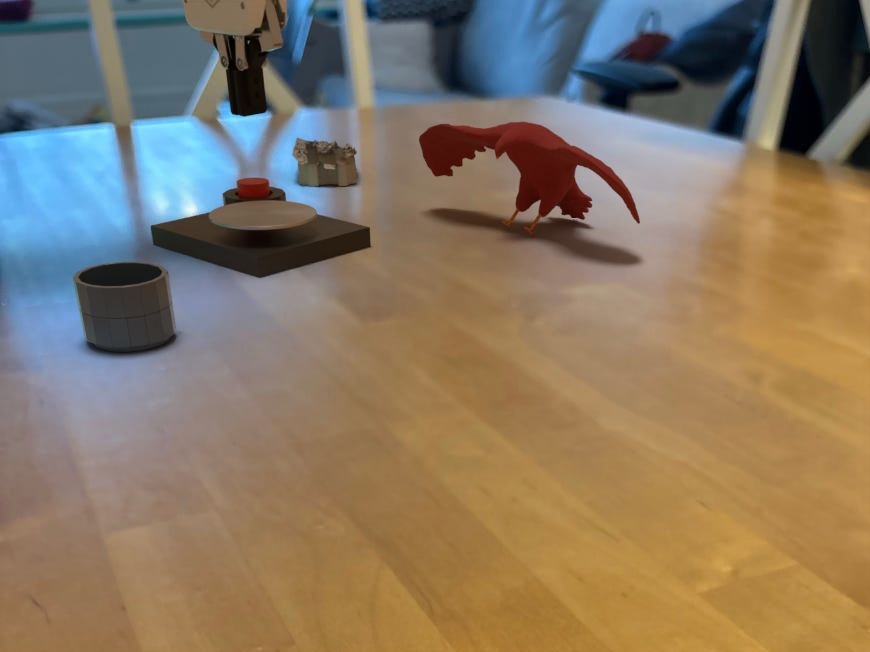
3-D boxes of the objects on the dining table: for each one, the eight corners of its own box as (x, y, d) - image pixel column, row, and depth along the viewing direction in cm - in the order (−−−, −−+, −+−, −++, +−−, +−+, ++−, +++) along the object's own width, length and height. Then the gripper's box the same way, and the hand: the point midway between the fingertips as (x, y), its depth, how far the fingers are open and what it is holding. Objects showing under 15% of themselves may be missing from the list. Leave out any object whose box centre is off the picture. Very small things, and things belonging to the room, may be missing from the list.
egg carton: (357, 187, 130) (355, 150, 127) (292, 188, 129) (289, 150, 127) (358, 167, 138) (356, 131, 136) (297, 167, 138) (294, 132, 136)
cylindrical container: (68, 339, 86) (55, 274, 83) (142, 318, 90) (132, 256, 87) (120, 360, 82) (107, 293, 80) (194, 337, 87) (185, 273, 84)
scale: (149, 244, 109) (144, 207, 107) (261, 218, 117) (257, 183, 115) (259, 278, 100) (255, 238, 98) (371, 247, 109) (369, 209, 107)
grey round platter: (186, 216, 104) (186, 213, 103) (269, 198, 110) (269, 195, 110) (256, 236, 98) (256, 232, 98) (339, 215, 105) (338, 212, 104)
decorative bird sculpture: (451, 243, 126) (379, 151, 113) (494, 175, 126) (427, 76, 114) (650, 300, 109) (591, 199, 97) (699, 221, 110) (646, 112, 98)
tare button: (231, 197, 112) (229, 181, 111) (256, 191, 114) (254, 175, 113) (252, 202, 110) (250, 186, 109) (276, 196, 112) (275, 180, 111)
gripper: (137, -114, 99) (170, 110, 110) (245, -113, 91) (269, 129, 102) (205, -116, 104) (231, 100, 114) (313, -114, 96) (330, 117, 106)
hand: (249, 113), depth 108 cm, fingers closed
